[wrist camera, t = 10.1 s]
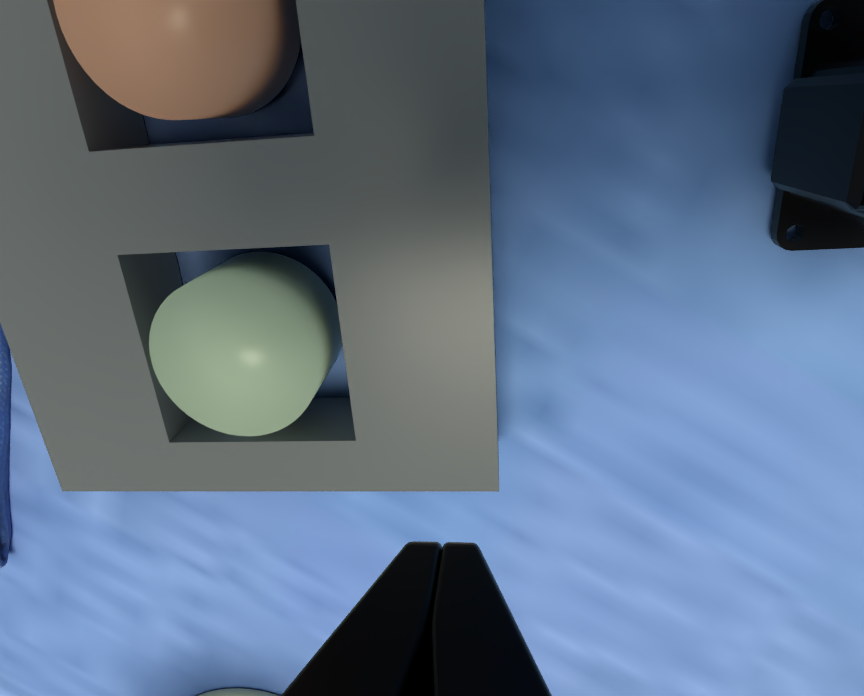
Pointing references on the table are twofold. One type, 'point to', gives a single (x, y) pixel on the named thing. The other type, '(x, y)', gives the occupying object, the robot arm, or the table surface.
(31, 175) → the button panel
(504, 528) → the table surface
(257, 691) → the sage green canister
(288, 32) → the terracotta button
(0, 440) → the dish towel
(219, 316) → the sage button
